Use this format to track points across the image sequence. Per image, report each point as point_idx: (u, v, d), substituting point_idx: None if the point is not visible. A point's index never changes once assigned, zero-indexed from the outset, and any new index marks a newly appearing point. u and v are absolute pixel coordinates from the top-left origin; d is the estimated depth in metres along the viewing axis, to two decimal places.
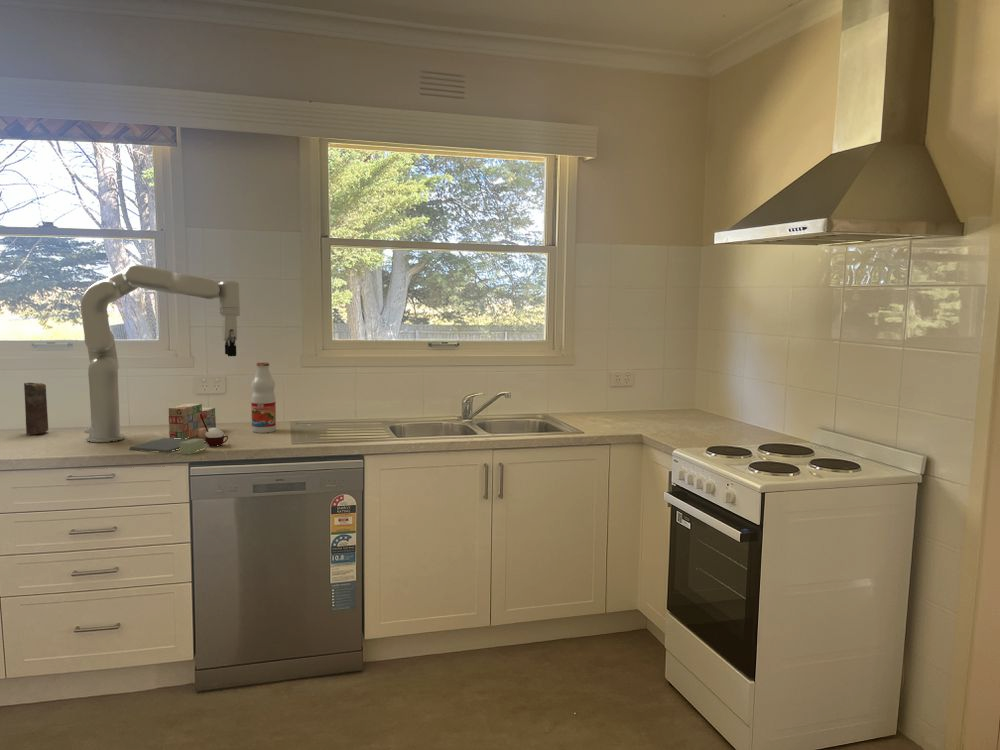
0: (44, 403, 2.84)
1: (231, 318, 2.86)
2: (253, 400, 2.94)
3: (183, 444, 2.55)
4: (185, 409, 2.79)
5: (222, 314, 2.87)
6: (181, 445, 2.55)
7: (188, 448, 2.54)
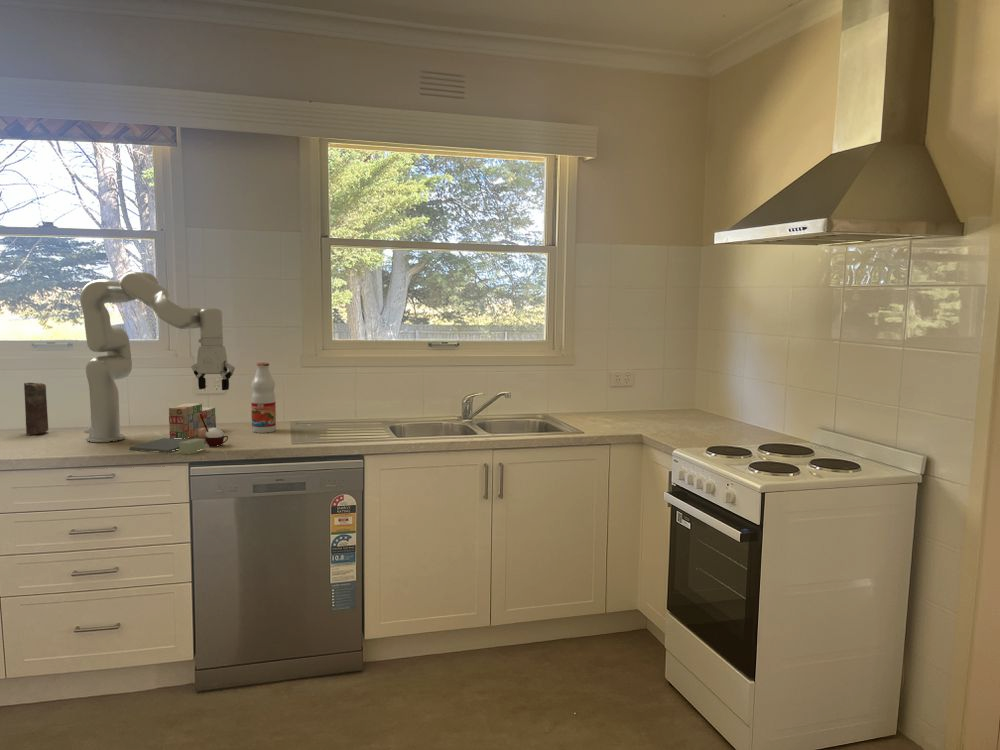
0: (44, 403, 2.84)
1: (223, 349, 2.64)
2: (253, 400, 2.94)
3: (183, 444, 2.55)
4: (185, 409, 2.79)
5: (212, 345, 2.62)
6: (181, 445, 2.55)
7: (187, 448, 2.54)
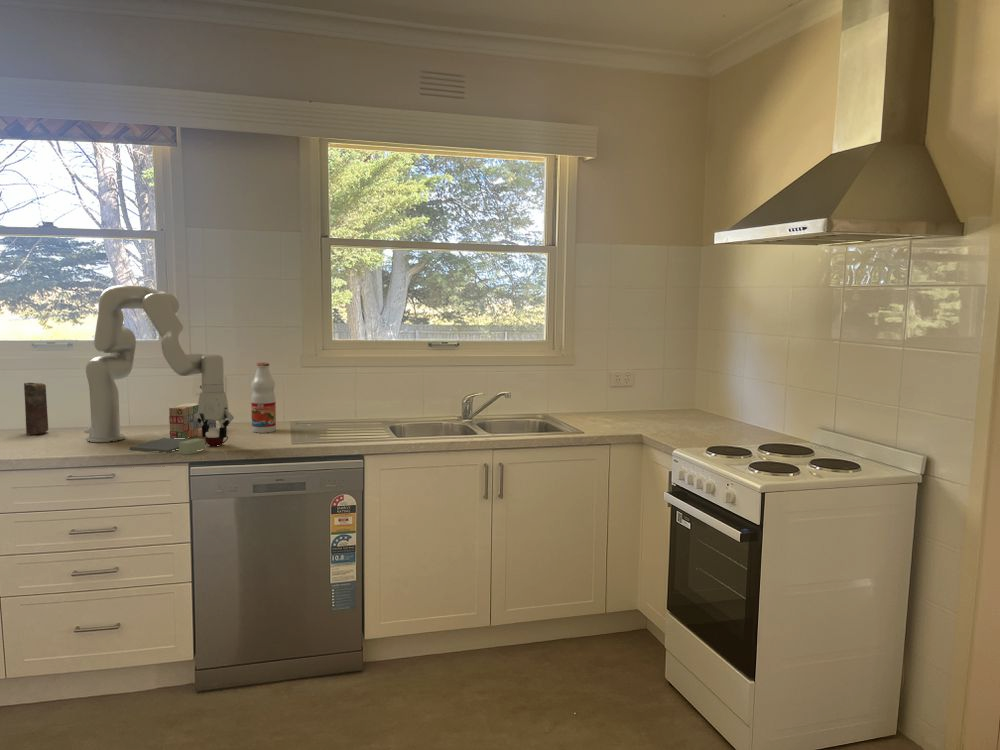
0: (44, 403, 2.84)
1: (224, 395, 2.66)
2: (253, 400, 2.94)
3: (182, 444, 2.55)
4: (186, 409, 2.80)
5: (213, 392, 2.64)
6: (180, 445, 2.55)
7: (187, 448, 2.54)
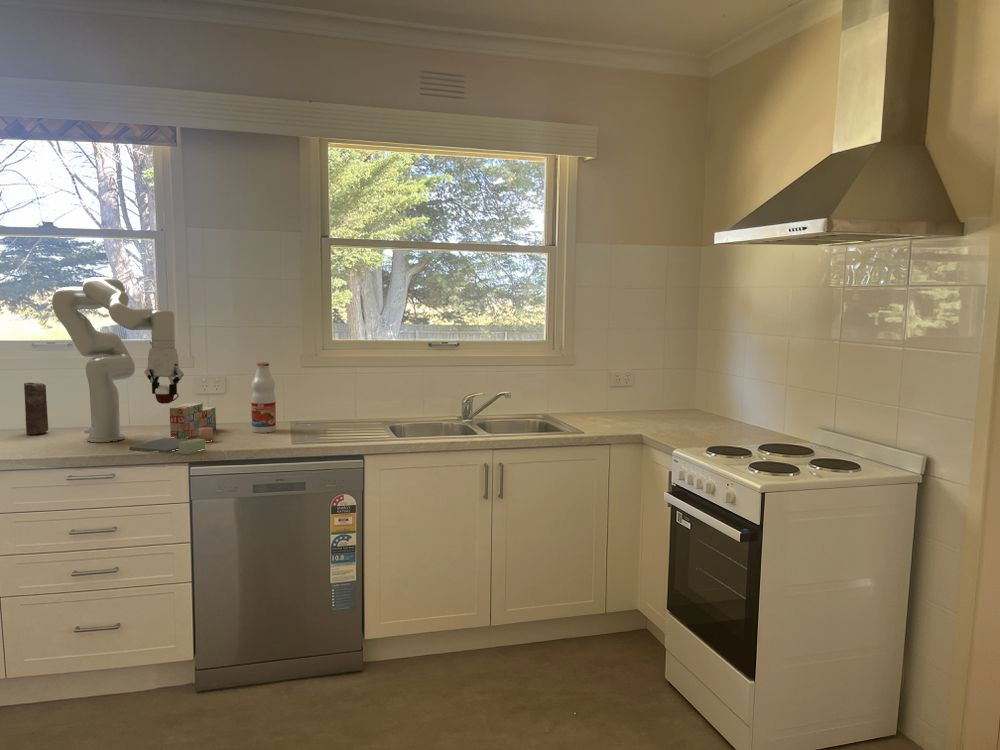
0: (44, 403, 2.84)
1: (174, 351, 2.61)
2: (253, 400, 2.94)
3: (181, 444, 2.55)
4: (186, 409, 2.80)
5: (163, 348, 2.59)
6: (180, 445, 2.55)
7: (186, 448, 2.54)
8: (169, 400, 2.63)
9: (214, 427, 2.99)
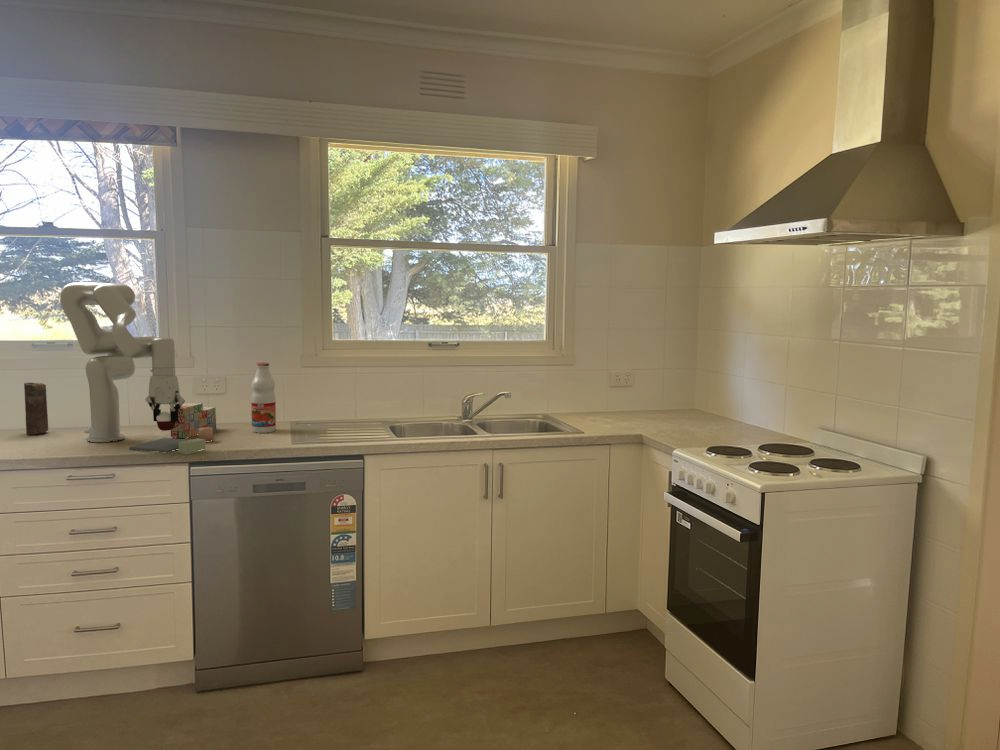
0: (44, 403, 2.84)
1: (175, 378, 2.62)
2: (253, 400, 2.94)
3: (181, 444, 2.55)
4: (186, 408, 2.80)
5: (164, 375, 2.60)
6: (180, 445, 2.55)
7: (185, 448, 2.54)
8: (170, 427, 2.64)
9: (214, 427, 3.00)
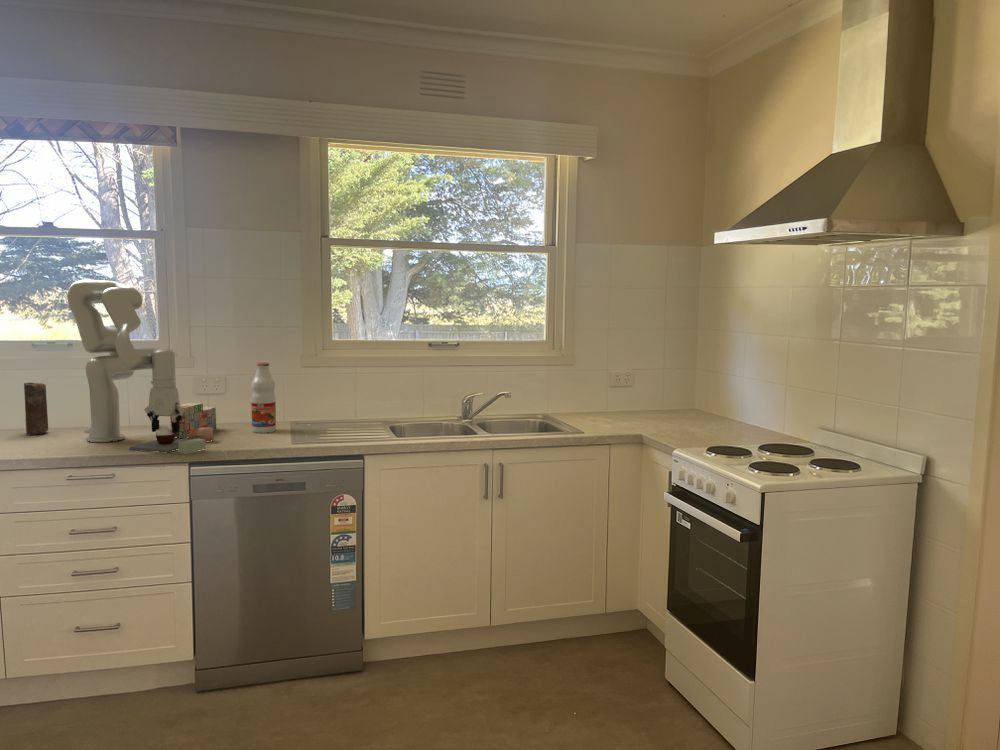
0: (44, 403, 2.84)
1: (175, 391, 2.63)
2: (253, 400, 2.94)
3: (181, 444, 2.55)
4: (187, 408, 2.81)
5: (164, 387, 2.60)
6: (179, 444, 2.56)
7: (184, 447, 2.54)
8: (170, 441, 2.65)
9: (214, 427, 3.00)
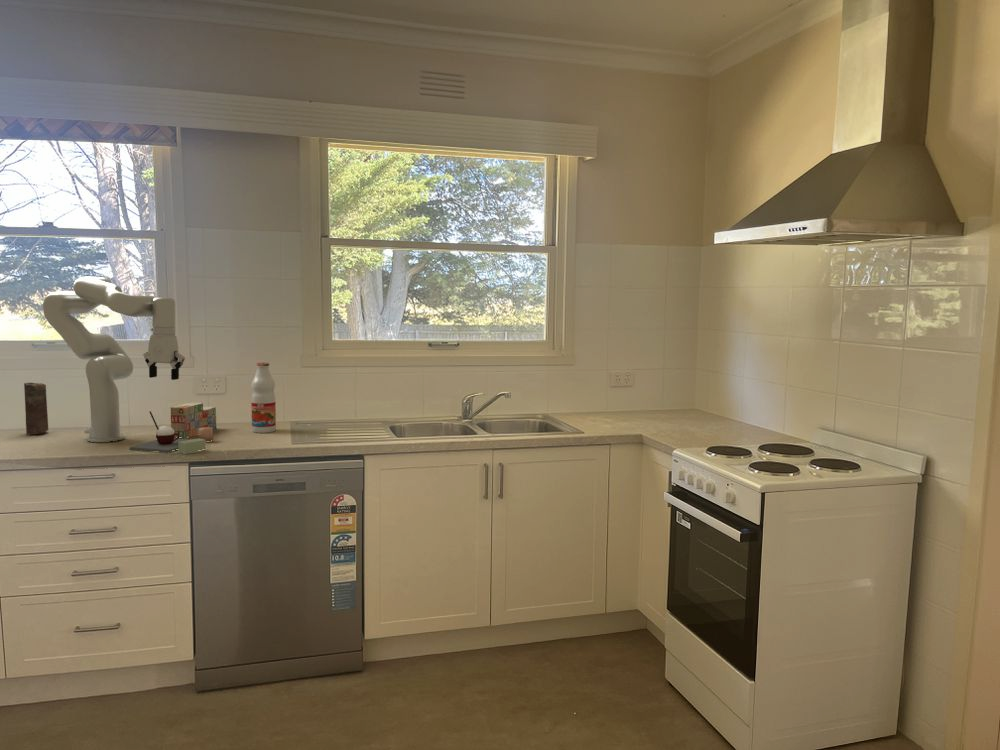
0: (44, 403, 2.84)
1: (174, 338, 2.65)
2: (253, 400, 2.94)
3: (180, 444, 2.55)
4: (187, 408, 2.81)
5: (163, 334, 2.62)
6: (179, 444, 2.56)
7: (184, 447, 2.54)
8: (170, 441, 2.65)
9: (214, 427, 3.00)
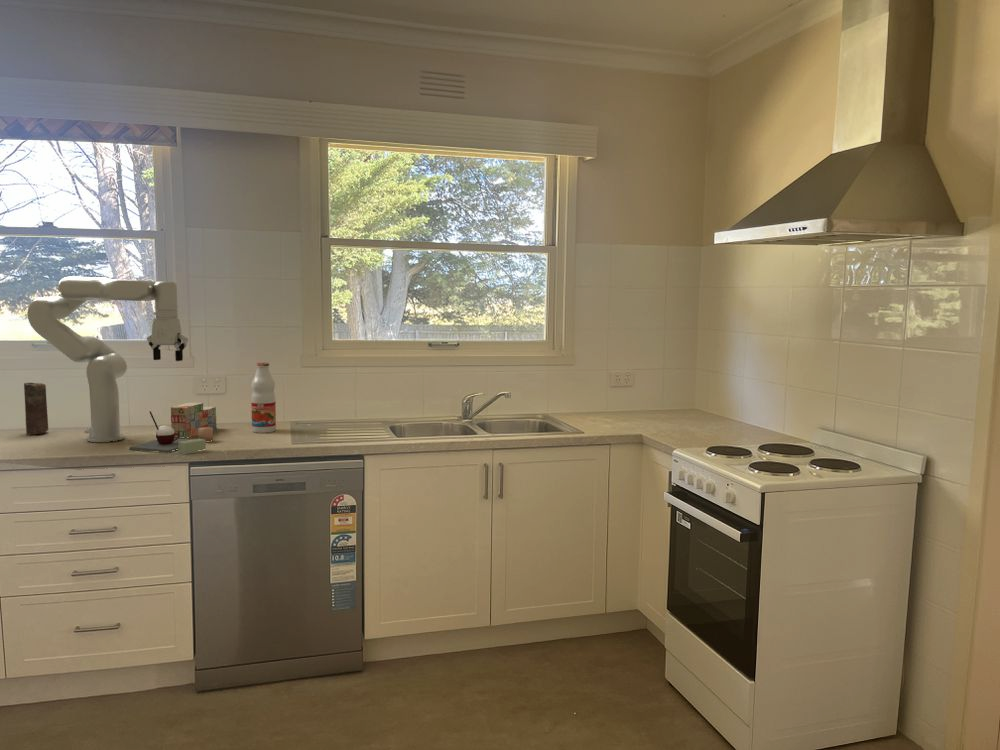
0: (44, 403, 2.84)
1: (177, 321, 2.73)
2: (253, 400, 2.94)
3: (180, 443, 2.55)
4: (187, 408, 2.81)
5: (166, 317, 2.70)
6: (179, 444, 2.56)
7: (183, 447, 2.54)
8: (170, 441, 2.65)
9: (214, 426, 3.01)
